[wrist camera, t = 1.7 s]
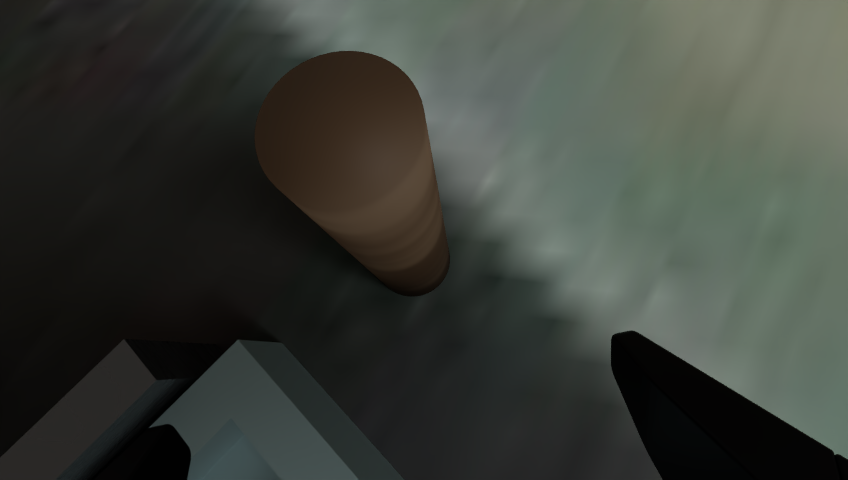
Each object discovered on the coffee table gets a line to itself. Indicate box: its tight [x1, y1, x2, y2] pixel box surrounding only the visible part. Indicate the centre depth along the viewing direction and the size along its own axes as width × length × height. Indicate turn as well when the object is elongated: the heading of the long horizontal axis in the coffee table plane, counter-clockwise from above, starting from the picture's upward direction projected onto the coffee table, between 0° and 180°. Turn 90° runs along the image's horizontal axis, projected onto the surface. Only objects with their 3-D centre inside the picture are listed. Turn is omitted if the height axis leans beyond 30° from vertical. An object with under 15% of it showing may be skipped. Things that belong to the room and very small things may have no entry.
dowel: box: [255, 51, 450, 296], centre depth 16 cm, size 4×4×13 cm
